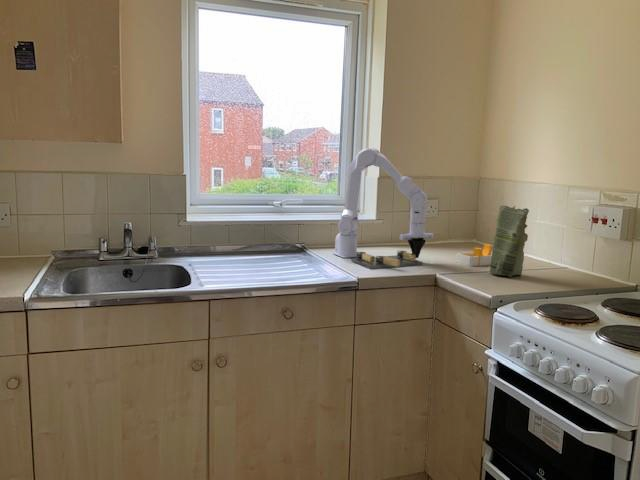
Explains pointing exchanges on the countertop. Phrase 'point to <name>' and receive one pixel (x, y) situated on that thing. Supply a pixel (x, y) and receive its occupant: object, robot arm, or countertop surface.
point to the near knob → (387, 261)
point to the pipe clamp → (479, 252)
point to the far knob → (406, 255)
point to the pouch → (509, 242)
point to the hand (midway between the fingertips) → (415, 257)
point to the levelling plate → (377, 265)
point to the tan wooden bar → (365, 256)
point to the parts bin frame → (473, 259)
